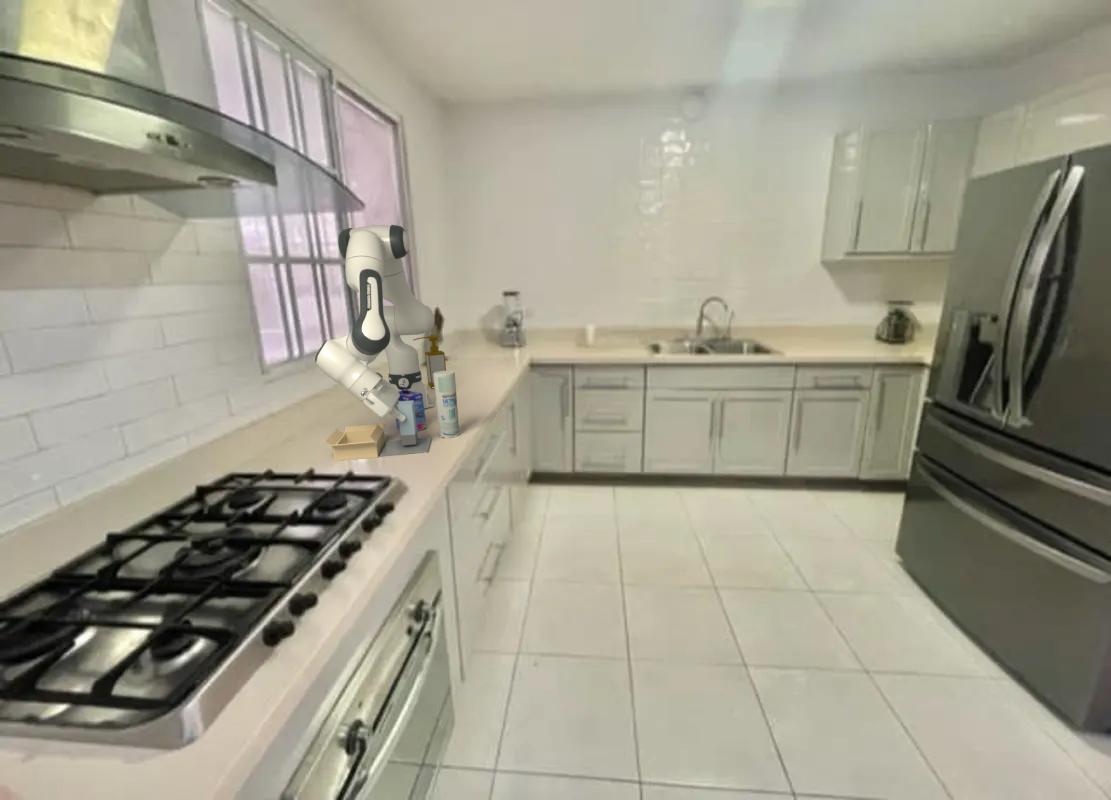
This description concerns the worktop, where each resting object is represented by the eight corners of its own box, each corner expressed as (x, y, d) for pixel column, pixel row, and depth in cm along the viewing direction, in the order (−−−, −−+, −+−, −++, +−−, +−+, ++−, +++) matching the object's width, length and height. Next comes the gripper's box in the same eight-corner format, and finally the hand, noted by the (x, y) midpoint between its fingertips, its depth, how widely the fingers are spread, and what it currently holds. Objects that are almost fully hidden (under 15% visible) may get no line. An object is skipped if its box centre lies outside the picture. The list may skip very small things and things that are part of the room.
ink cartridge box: (395, 428, 180) (390, 385, 177) (409, 424, 185) (404, 382, 181) (413, 432, 174) (408, 388, 171) (427, 428, 178) (422, 385, 175)
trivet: (387, 442, 165) (387, 440, 164) (431, 439, 166) (430, 437, 166) (380, 456, 152) (380, 454, 152) (427, 452, 154) (427, 450, 154)
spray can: (444, 439, 165) (438, 375, 161) (435, 435, 170) (429, 372, 166) (463, 435, 169) (458, 372, 164) (454, 431, 174) (449, 369, 169)
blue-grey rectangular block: (404, 440, 161) (399, 401, 158) (417, 439, 162) (413, 400, 159) (401, 445, 156) (397, 405, 154) (416, 444, 157) (411, 404, 154)
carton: (340, 444, 165) (338, 425, 164) (386, 440, 167) (384, 421, 166) (325, 464, 147) (321, 443, 146) (376, 459, 149) (374, 439, 148)
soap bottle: (416, 387, 247) (410, 335, 241) (443, 383, 252) (439, 333, 246) (419, 390, 240) (414, 337, 235) (447, 386, 245) (442, 334, 240)
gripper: (367, 385, 143) (409, 417, 147) (379, 371, 163) (416, 400, 167) (352, 402, 144) (393, 434, 147) (366, 387, 164) (402, 415, 167)
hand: (405, 416), depth 157 cm, fingers closed on blue-grey rectangular block, 5 cm apart
